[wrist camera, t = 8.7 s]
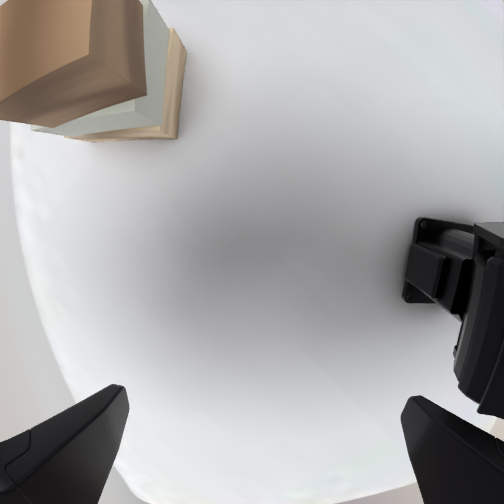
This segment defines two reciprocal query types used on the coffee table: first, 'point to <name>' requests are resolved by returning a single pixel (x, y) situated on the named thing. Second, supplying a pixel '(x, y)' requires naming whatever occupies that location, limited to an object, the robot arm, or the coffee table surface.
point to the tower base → (170, 102)
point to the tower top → (137, 110)
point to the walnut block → (69, 58)
